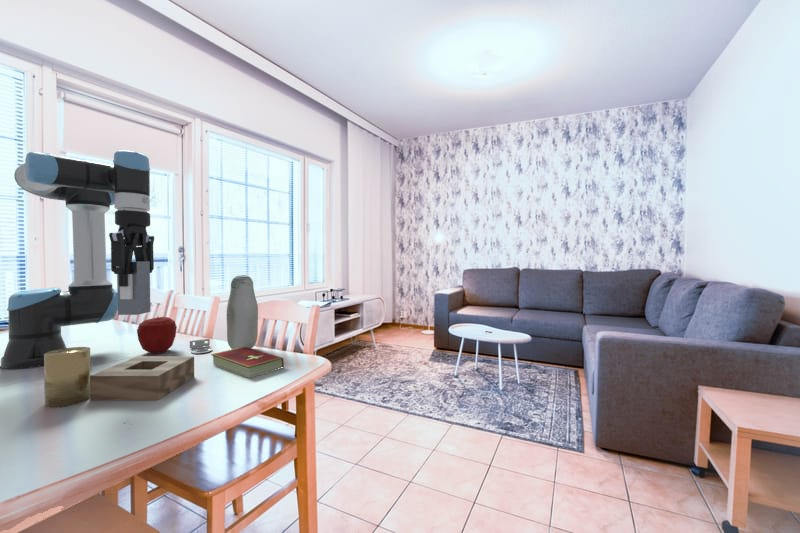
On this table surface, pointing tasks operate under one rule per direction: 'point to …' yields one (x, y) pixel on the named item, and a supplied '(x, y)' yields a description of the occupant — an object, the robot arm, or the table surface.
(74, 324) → the robot arm
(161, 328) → the apple
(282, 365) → the hardcover book
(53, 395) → the round bit
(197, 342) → the bracket
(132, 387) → the socket block
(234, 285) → the grey rounded tall shape
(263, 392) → the table surface
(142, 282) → the square bit
